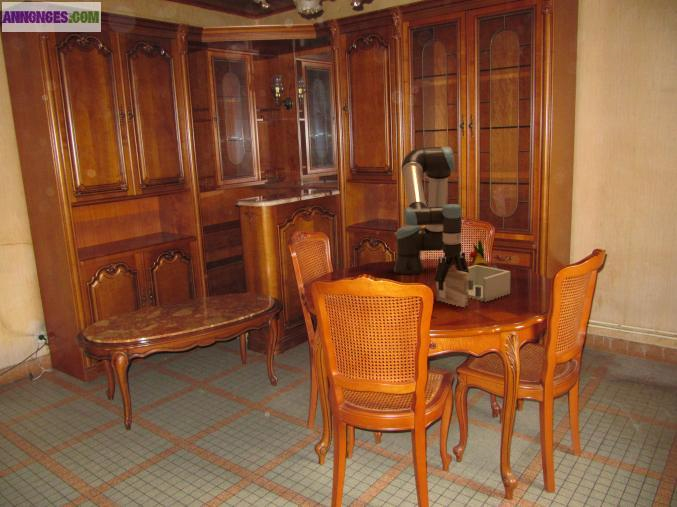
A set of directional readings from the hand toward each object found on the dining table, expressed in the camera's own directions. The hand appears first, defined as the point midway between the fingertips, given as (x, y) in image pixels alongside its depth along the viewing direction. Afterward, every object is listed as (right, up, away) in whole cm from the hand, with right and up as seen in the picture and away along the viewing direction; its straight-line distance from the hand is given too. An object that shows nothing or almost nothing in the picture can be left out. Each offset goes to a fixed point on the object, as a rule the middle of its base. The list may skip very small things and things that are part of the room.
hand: (452, 294), depth 239 cm
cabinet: (+15, -1, +12) cm, 19 cm away
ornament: (+23, +9, +55) cm, 61 cm away
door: (0, -4, +1) cm, 4 cm away
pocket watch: (+27, +3, +30) cm, 41 cm away
